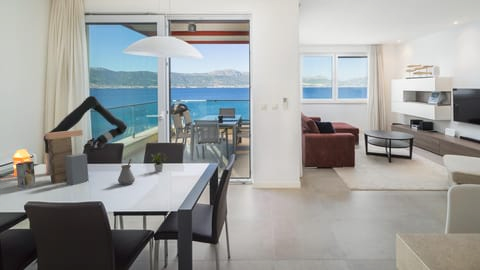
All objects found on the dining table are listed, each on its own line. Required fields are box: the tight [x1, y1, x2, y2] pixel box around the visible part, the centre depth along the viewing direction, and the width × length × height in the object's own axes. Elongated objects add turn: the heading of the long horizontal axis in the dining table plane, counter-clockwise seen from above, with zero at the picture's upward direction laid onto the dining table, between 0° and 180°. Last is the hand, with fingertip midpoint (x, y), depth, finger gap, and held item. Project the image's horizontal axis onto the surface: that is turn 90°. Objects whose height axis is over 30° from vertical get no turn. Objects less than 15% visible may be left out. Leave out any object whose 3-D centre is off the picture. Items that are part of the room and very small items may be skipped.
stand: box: [48, 137, 73, 185], centre depth 249 cm, size 6×14×32 cm, turn 149°
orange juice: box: [12, 148, 31, 177], centre depth 271 cm, size 8×9×20 cm
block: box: [44, 129, 84, 139], centre depth 250 cm, size 4×26×4 cm, turn 149°
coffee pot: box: [117, 158, 136, 186], centre depth 246 cm, size 21×12×15 cm, turn 4°
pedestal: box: [65, 152, 89, 186], centre depth 245 cm, size 7×12×20 cm, turn 149°
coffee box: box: [16, 161, 36, 188], centre depth 239 cm, size 9×6×16 cm
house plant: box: [150, 152, 167, 173], centre depth 277 cm, size 14×14×16 cm
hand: (87, 149), depth 265 cm, fingers open, 8 cm apart
